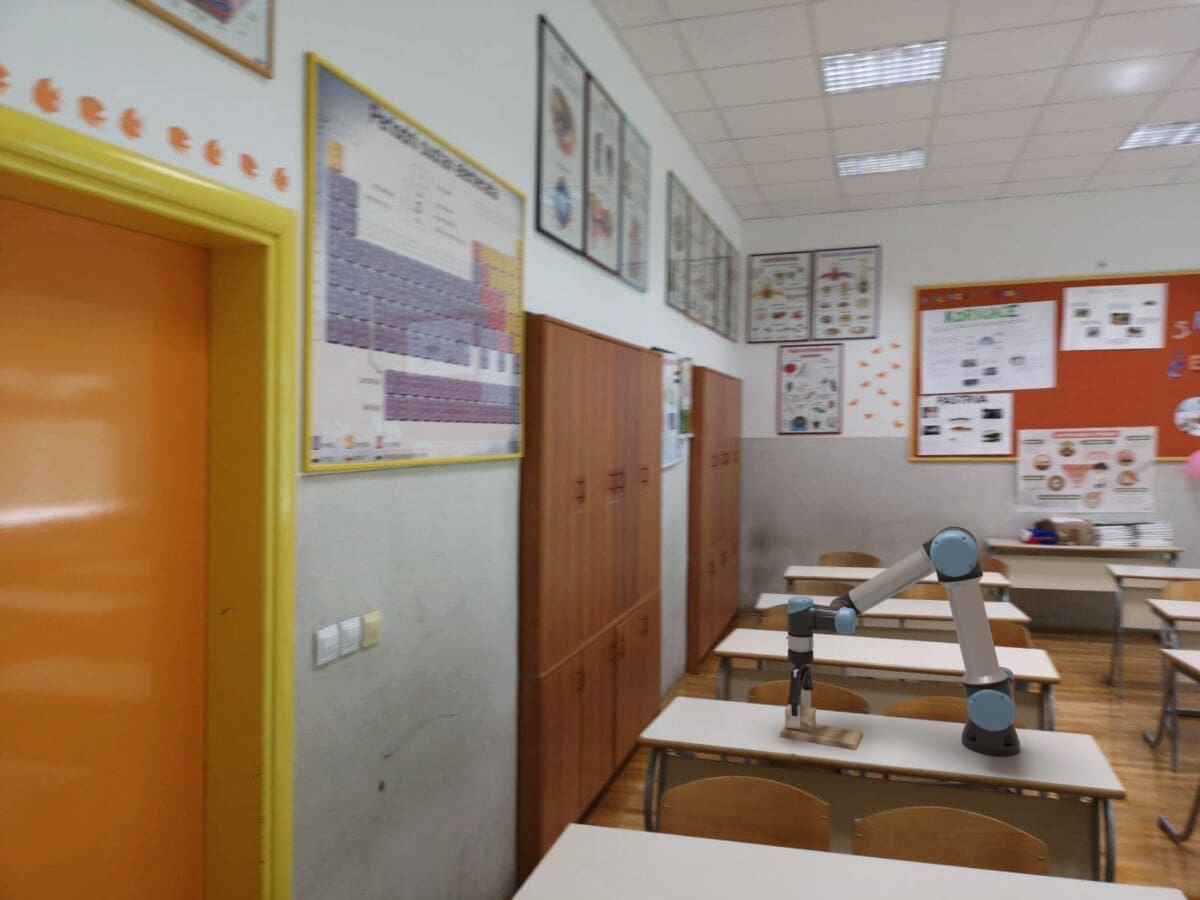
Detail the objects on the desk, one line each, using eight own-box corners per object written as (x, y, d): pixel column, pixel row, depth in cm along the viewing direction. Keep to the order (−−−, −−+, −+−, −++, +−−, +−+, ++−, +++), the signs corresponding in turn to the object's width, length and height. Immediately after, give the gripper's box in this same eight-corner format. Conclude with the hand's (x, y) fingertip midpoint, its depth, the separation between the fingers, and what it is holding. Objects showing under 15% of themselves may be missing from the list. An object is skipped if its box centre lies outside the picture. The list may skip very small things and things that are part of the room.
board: (862, 736, 237) (862, 731, 237) (855, 750, 227) (855, 744, 227) (789, 724, 247) (789, 719, 247) (779, 736, 238) (779, 731, 238)
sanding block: (815, 727, 240) (815, 708, 240) (811, 733, 236) (811, 713, 236) (789, 723, 244) (789, 704, 244) (785, 729, 240) (785, 709, 240)
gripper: (798, 637, 252) (798, 703, 253) (777, 657, 230) (777, 730, 231) (822, 640, 249) (822, 707, 249) (803, 661, 227) (803, 734, 227)
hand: (800, 718), depth 240 cm, fingers open, 13 cm apart
